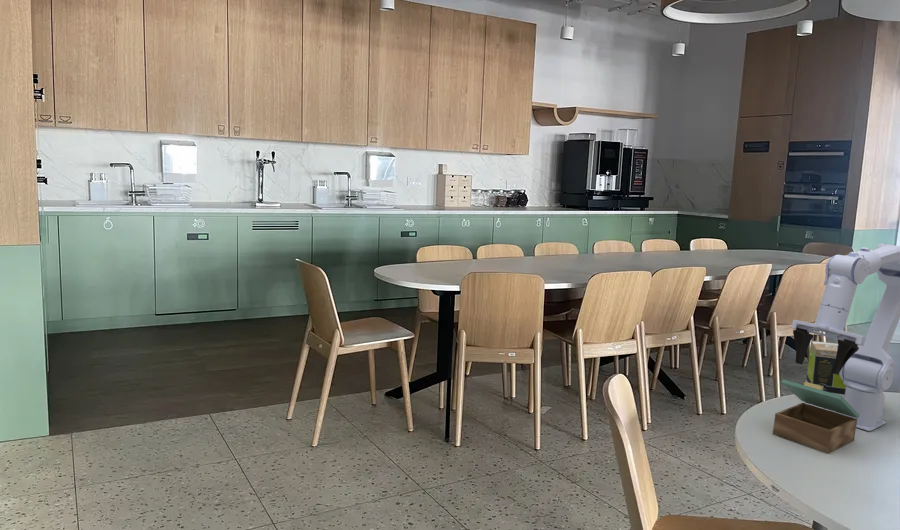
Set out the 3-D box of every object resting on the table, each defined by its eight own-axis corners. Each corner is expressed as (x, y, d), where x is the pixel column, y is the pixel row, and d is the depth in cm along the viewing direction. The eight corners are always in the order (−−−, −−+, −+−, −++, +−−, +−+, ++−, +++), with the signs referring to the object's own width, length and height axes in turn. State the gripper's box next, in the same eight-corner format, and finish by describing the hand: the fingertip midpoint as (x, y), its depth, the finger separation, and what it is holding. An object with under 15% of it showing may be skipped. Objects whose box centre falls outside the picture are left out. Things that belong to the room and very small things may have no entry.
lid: (802, 402, 161) (805, 394, 162) (858, 419, 152) (861, 411, 152) (781, 382, 153) (784, 375, 153) (839, 399, 143) (842, 391, 144)
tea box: (866, 400, 180) (875, 346, 178) (875, 413, 171) (884, 356, 168) (803, 391, 185) (810, 338, 183) (808, 403, 176) (816, 348, 173)
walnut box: (799, 422, 162) (802, 402, 161) (854, 440, 152) (857, 419, 152) (772, 434, 154) (775, 413, 153) (828, 453, 144) (831, 431, 144)
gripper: (793, 297, 151) (775, 356, 151) (863, 312, 140) (845, 376, 140) (806, 304, 156) (789, 361, 155) (875, 319, 144) (857, 380, 144)
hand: (816, 368), depth 148 cm, fingers open, 7 cm apart
